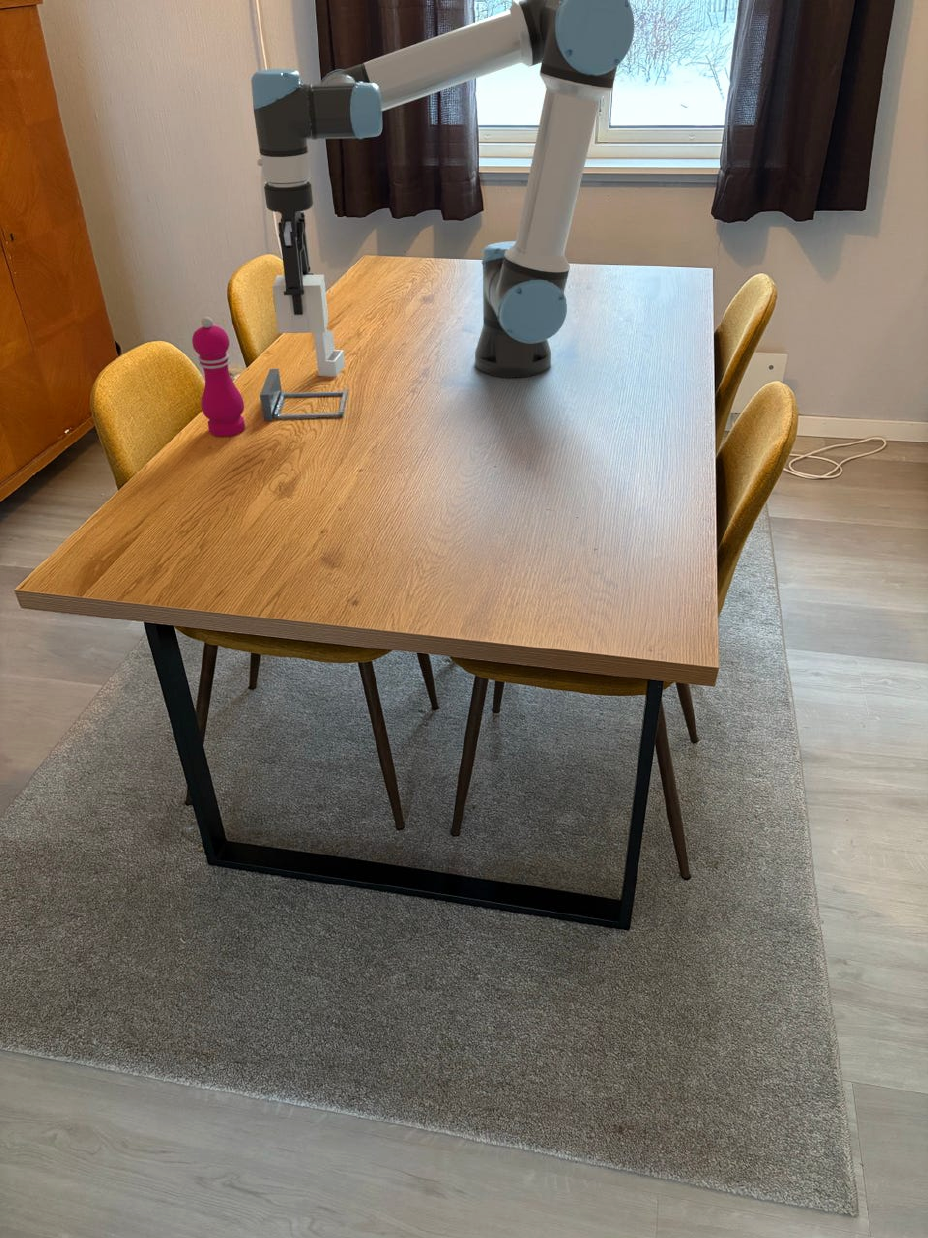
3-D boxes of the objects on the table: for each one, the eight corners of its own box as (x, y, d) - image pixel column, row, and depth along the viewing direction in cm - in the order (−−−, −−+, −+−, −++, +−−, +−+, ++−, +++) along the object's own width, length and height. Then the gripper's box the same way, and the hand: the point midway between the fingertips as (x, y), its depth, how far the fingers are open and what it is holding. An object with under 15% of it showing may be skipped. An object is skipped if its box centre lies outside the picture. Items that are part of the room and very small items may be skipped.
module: (328, 320, 166) (323, 274, 161) (324, 332, 161) (320, 285, 157) (282, 321, 166) (276, 275, 161) (277, 333, 161) (271, 285, 156)
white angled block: (310, 372, 180) (312, 325, 179) (327, 379, 189) (329, 335, 188) (328, 373, 179) (331, 326, 178) (344, 380, 189) (347, 335, 188)
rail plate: (348, 392, 178) (345, 366, 175) (342, 419, 168) (339, 392, 165) (273, 394, 178) (269, 368, 175) (263, 421, 168) (259, 394, 165)
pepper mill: (255, 423, 167) (236, 311, 155) (234, 440, 162) (213, 326, 150) (220, 418, 169) (199, 308, 157) (198, 435, 164) (175, 322, 152)
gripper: (272, 169, 157) (289, 307, 171) (254, 196, 142) (274, 345, 156) (316, 168, 157) (330, 306, 171) (303, 195, 142) (319, 344, 156)
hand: (303, 324), depth 163 cm, fingers closed on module, 6 cm apart
